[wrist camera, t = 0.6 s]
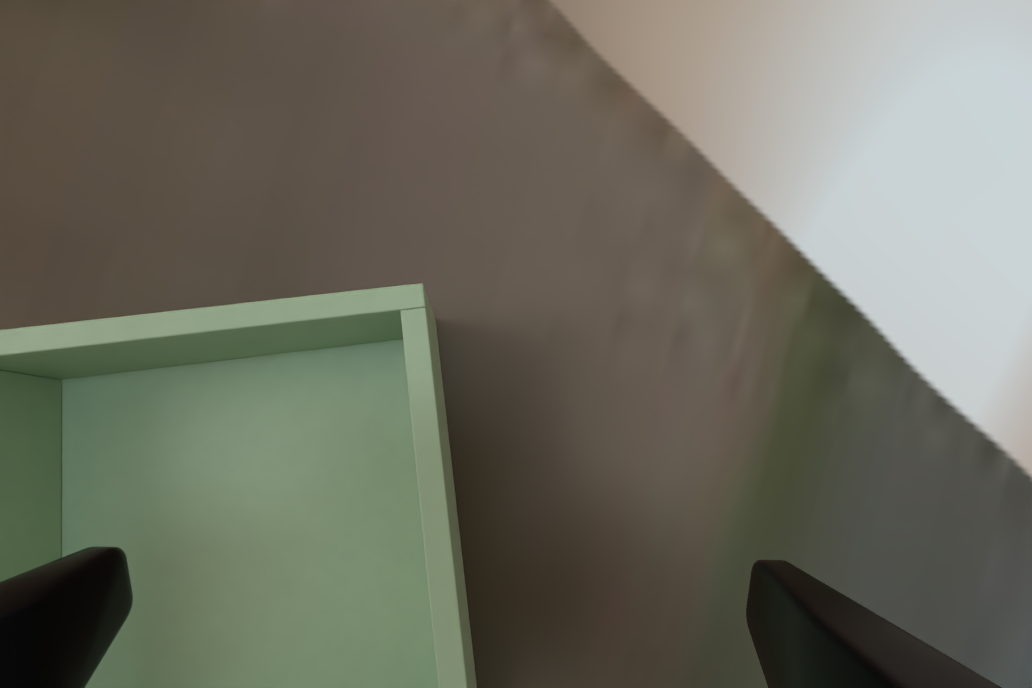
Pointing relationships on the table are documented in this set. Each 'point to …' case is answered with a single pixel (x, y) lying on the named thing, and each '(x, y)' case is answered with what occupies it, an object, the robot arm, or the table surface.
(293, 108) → the table surface
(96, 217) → the table surface
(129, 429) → the mint green tray
